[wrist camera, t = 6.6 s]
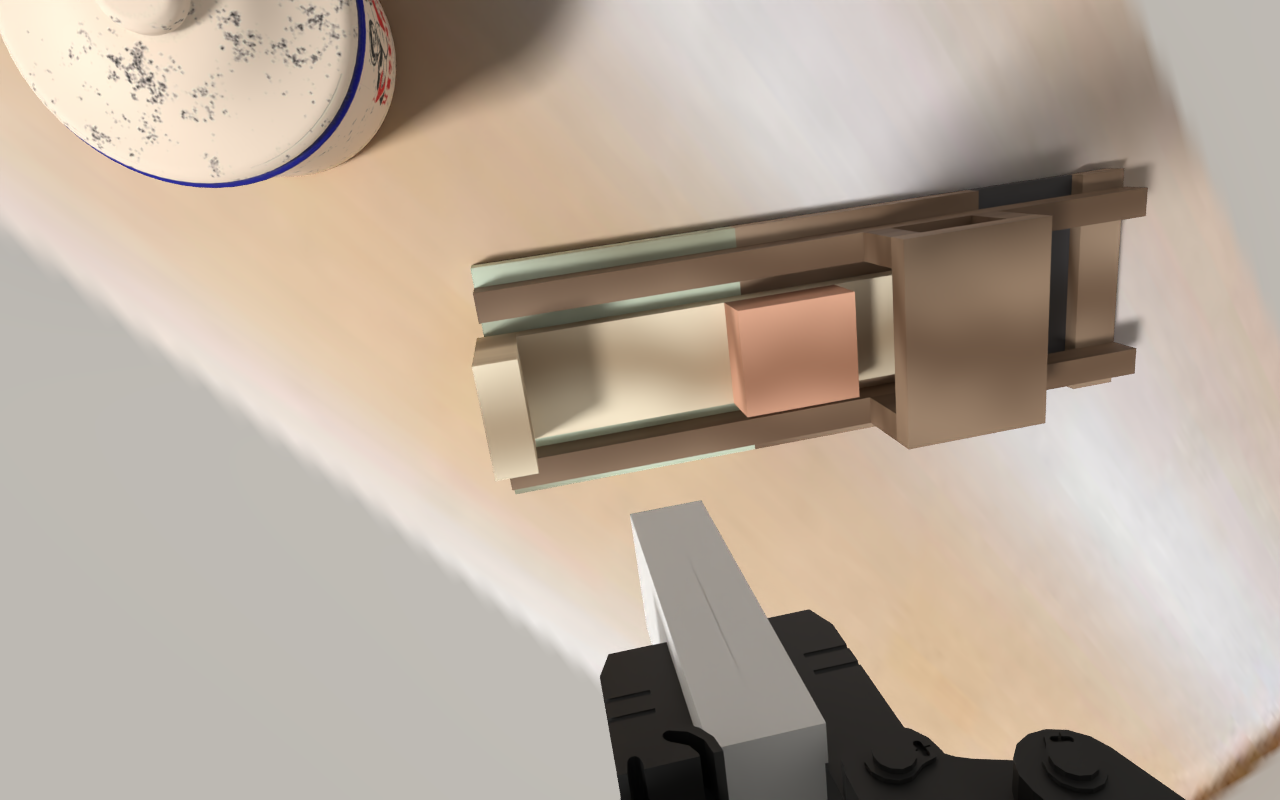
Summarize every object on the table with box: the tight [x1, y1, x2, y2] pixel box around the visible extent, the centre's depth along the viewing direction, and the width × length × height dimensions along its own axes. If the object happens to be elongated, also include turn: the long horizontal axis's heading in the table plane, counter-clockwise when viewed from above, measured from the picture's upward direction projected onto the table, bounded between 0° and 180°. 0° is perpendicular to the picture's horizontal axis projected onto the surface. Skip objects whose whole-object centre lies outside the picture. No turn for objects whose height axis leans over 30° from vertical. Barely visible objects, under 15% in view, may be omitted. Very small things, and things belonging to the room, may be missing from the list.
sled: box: [472, 270, 895, 481], centre depth 31 cm, size 4×19×5 cm, turn 97°
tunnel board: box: [471, 169, 1148, 494], centre depth 32 cm, size 10×29×6 cm, turn 97°
